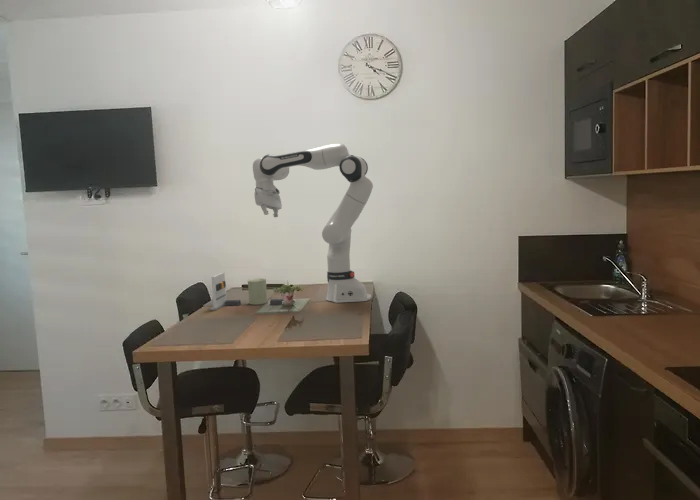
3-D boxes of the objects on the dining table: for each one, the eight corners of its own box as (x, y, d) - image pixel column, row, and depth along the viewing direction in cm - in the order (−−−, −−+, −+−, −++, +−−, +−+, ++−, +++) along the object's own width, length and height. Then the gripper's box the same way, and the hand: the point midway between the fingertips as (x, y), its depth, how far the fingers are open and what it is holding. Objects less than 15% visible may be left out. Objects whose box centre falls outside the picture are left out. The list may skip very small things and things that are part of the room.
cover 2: (283, 303, 287) (283, 298, 287) (282, 304, 285) (281, 299, 284) (271, 303, 288) (271, 298, 288) (270, 305, 285) (269, 299, 285)
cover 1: (240, 304, 291) (240, 299, 290) (238, 305, 288) (238, 300, 287) (227, 304, 292) (226, 299, 291) (225, 305, 289) (224, 300, 289)
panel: (228, 303, 293) (226, 272, 291) (218, 310, 279) (215, 277, 278) (220, 304, 294) (218, 272, 292) (210, 310, 280) (207, 277, 278)
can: (266, 304, 288) (264, 280, 287) (247, 304, 289) (245, 281, 287) (268, 300, 297) (267, 277, 296) (250, 301, 298) (249, 277, 296)
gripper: (260, 183, 283) (265, 210, 280) (281, 191, 302) (286, 216, 299) (249, 188, 285) (254, 214, 282) (270, 195, 304) (276, 220, 301)
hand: (271, 215), depth 291 cm, fingers open, 8 cm apart
